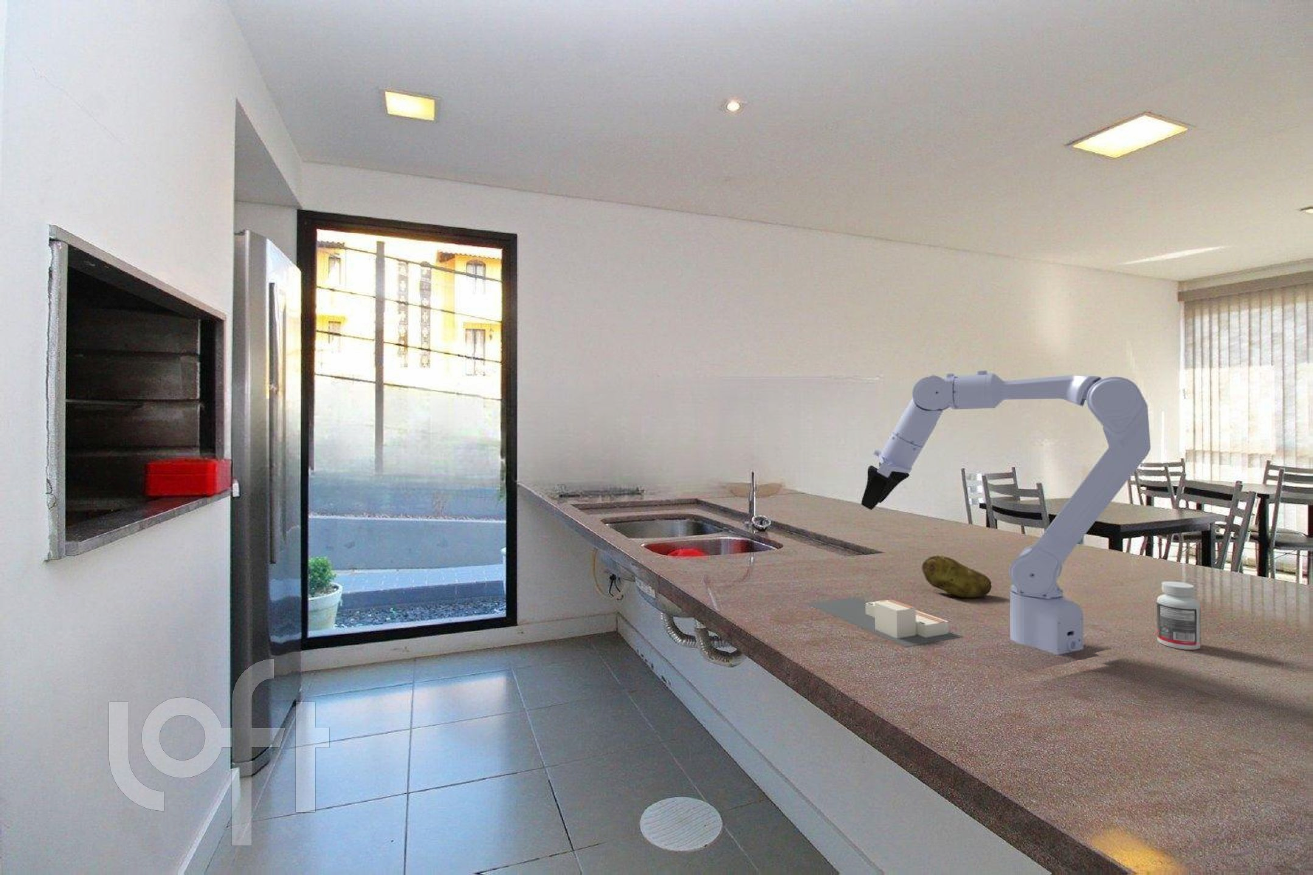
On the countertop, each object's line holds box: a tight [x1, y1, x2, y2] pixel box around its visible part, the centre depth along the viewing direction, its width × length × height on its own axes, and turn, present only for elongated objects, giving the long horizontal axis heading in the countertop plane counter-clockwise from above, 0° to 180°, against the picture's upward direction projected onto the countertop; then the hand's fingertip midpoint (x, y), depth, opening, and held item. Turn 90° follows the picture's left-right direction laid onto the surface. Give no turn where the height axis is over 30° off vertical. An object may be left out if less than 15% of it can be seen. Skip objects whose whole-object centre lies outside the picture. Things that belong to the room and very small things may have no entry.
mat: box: [805, 596, 964, 648], centre depth 109 cm, size 26×12×1 cm, turn 22°
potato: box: [921, 555, 992, 599], centre depth 128 cm, size 8×13×8 cm, turn 55°
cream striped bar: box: [866, 599, 949, 638], centre depth 106 cm, size 14×5×2 cm, turn 22°
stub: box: [875, 599, 917, 638], centre depth 102 cm, size 5×4×5 cm
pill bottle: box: [1156, 580, 1202, 651], centre depth 98 cm, size 5×5×10 cm
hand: (871, 503), depth 113 cm, fingers open, 7 cm apart
